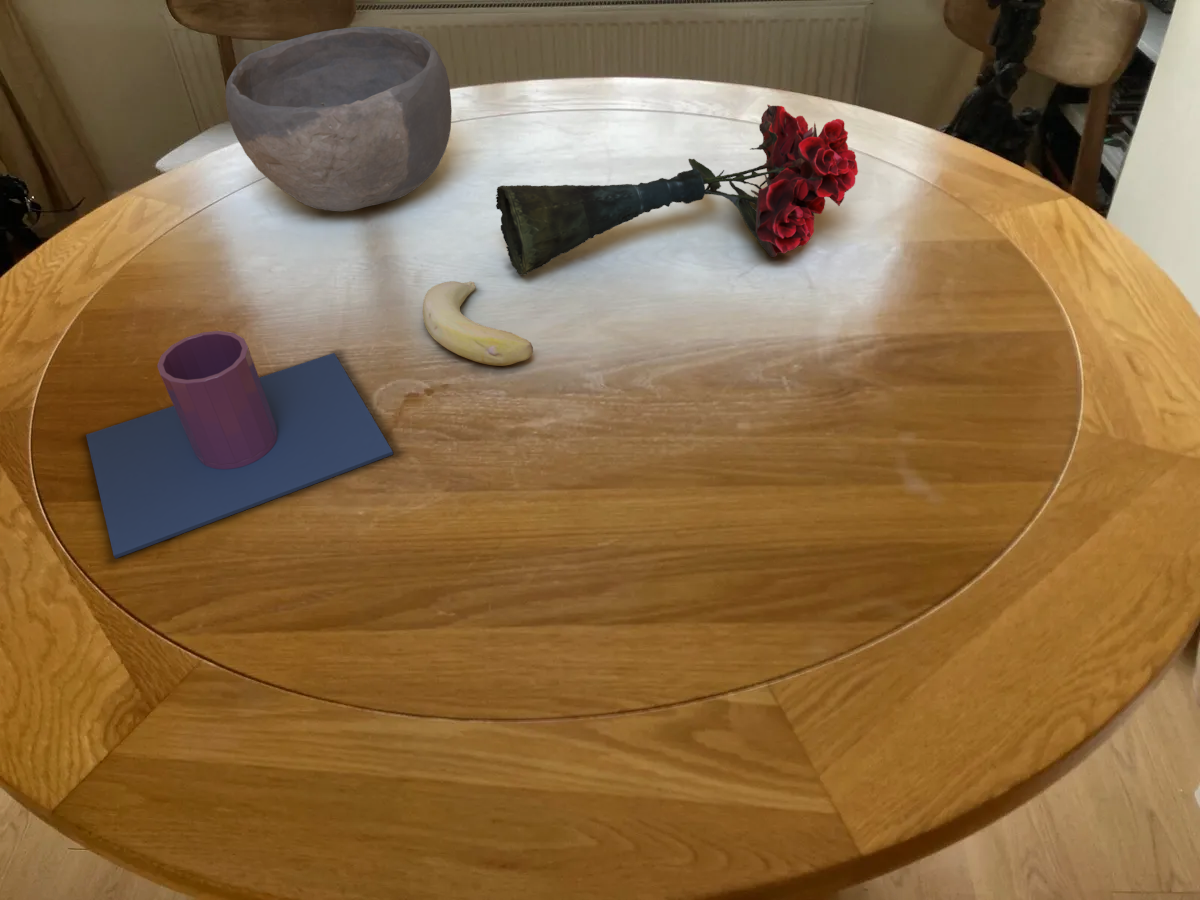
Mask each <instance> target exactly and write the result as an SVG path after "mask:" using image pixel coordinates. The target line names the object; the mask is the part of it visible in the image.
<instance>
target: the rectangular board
mask: <svg viewBox="0 0 1200 900" xmlns="http://www.w3.org/2000/svg"><path fill="white" fill-rule="evenodd" d="M259 379H260V382H261V385H262V388H263V390H264V393H265V396H266V399H267V402H268V405H269V407H270V410H271V413H272V416H273V419H274V421H275V424H276V428H277V432H278V436H277V440H276V443H275V445H274V446H273V448H272V449H271V450H270V451H269V452H268V453H267V454H266V455H265V456H263V457H262V458H260V459H259V460H257V461H255V462H253V463H251V464H249V465H246V466H243V467H239V468H234V469H214V468H210V467H208V466H206V465H204V464H203V463H201V462H200V461H199V460H198V458H197V456H196V455H195V452H194V450H193V448H192V446H191V443H190V441H189V439H188V436H187V434H186V432H185V430H184V427H183V425H182V423H181V421H180V418H179V416H178V414H177V412H176V409H175V407H174V405H172V406H169V407H165V408H163V409H160V410H157V411H153V412H150V413H148V414H144V415H142V416H139V417H136V418H133V419H130V420H126V421H124V422H120V423H118V424H114V425H111V426H107V427H106V428H102V429H99V430H96V431H93V432H90V433H87V434H85V437H86V441H87V446H88V449H89V454H90V458H91V463H92V467H93V472H94V476H95V480H96V485H97V489H98V490H97V491H98V494H99V497H100V502H101V507H102V511H103V515H104V520H105V524H106V529H107V532H108V537H109V541H110V546H111V550H112V555H113V557H114V559H118V558H121V557H124V556H127V555H130V554H132V553H135V552H138V551H140V550H143V549H146V548H148V547H150V546H153V545H156V544H159V543H162V542H164V541H167V540H169V539H173V538H175V537H178V536H180V535H184V534H185V533H188V532H191V531H194V530H197V529H199V528H201V527H204V526H206V525H210V524H213V523H215V522H217V521H220V520H222V519H225V518H228V517H231V516H233V515H236V514H238V513H242V512H244V511H247V510H249V509H250V510H251V509H252V508H255V507H257V506H260V505H263V504H266V503H268V502H272V501H273V500H276V499H278V498H279V499H280V498H282V497H284V496H287V495H290V494H292V493H294V492H297V491H300V490H303V489H305V488H308V487H311V486H313V485H316V484H318V483H319V484H320V483H321V482H324V481H327V480H329V479H331V478H334V477H337V476H340V475H343V474H346V473H348V472H352V471H353V470H354V471H355V470H356V469H358V468H359V469H360V468H362V467H364V466H367V465H369V464H372V463H375V462H378V461H380V460H382V459H386V458H388V457H390V456H394V450H393V449H392V448H391V446H390V444H389V442H388V441H387V439H386V437H385V436H384V435H383V434H384V433H382V431H381V429H380V427H379V426H378V424H377V422H376V420H375V419H374V418H373V416H372V414H371V412H370V410H369V408H368V407H367V404H366V403H365V402H364V401H363V399H362V397H361V395H360V393H359V392H358V390H357V389H356V387H355V385H354V383H353V382H352V380H351V379H350V376H349V375H348V374H347V371H346V370H345V368H344V366H343V365H342V363H341V362H340V360H339V358H338V357H337V355H336V353H335V352H332V353H329V354H326V355H323V356H320V357H317V358H314V359H311V360H309V361H305V362H302V363H299V364H296V365H293V366H289V367H286V368H284V369H281V370H278V371H275V372H272V373H268V374H266V375H263V376H259Z"/></svg>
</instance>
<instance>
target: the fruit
mask: <svg viewBox="0 0 1200 900" xmlns="http://www.w3.org/2000/svg"><path fill="white" fill-rule="evenodd" d="M476 289H477V286H476V283H475V282H474V281H467V282H461V281H454V280H451V281H450V280H449V281H444V282H441V283H438V284H435V285H433V286H431V287H430V288H429V289H428V290H427V291H426V293H425V295H424V297H423V303H422V318H423V324H424V326H425V328H426V330H427V332H428V333H429V335H430V336H431V338H432V339H433V340H435V341H436V342H437V343H438V344H439V345H440V346H442V347H443V348H445V349H447V350H448V351H450V352H452V353H454V354H455V355H458V356H459V357H462V358H464V359H468V360H470V361H473V362H476V363H480V364H483V365H490V366H503V367H505V366H510V365H513V364H516V363H519V362H524V361H527V360H528V359H530V357H531V356H532V354H533V352H534V347H533V344H532V342H531V341H530V340H528V339H526V338H523V337H522V336H519V335H517V334H515V333H513V332H511V331H506V330H503V329H499V328H498V329H497V328H493V327H489V326H486V325H483V324H481V323H478V322H476V321H473V320H471V319H469V318H468V317H467V316H465V315H464V314H462V312H461V306H462V305H463V303H464V302H465V300H466V299H467V297H468V296H470V294H471V293H472V292H474V291H475V290H476Z"/></svg>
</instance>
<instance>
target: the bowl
mask: <svg viewBox="0 0 1200 900" xmlns="http://www.w3.org/2000/svg"><path fill="white" fill-rule="evenodd" d="M224 93H225V104H226V112H227V116H228V117H227V118H228V120H229V122H230V125H231V128H232V130H233V133H234V135H235V137H236V139H237V142H238V143H239V144H240V146H241V148H242V150H243V151H244V153H245V155H246V156H247V157H248V159H249V160H250V162H251V163H253V165H254V167H255V168H256V169H257V170H258V171H259V172H260V173H261V174H263V175H264V177H266V179H268V180H269V181H271V182H272V183H273V184H274V186H276V187H277V188H278V189H280V190H281V191H283V192H285V193H286V194H288V195H289V196H291V197H292V198H295V200H296V201H298V202H300V203H302V204H303V205H305V206H308V207H311V208H313V209H317V210H324V211H331V212H332V211H333V212H350V211H355V210H360V209H364V208H367V207H371V206H377V205H381V204H385V203H388V202H389V203H390V202H393V201H396V200H398V199H400V198H402V197H404V196H406V195H408V194H410V193H412V192H413V191H415V190H416V189H417V188H419V187H420V186H421V185H422V184H423V183H425V181H427V179H429V177H430V176H431V175H432V174H433V173H434V172H435V171H436V169H437V168H438V167H439V165H440V163H441V162H442V159H443V156H444V155H445V152H446V150H447V146H448V144H449V139H450V137H451V130H452V129H451V128H452V113H453V112H452V109H453V108H452V97H451V85H450V79H449V76H448V72H447V68H446V66H445V64H444V61H443V60H442V58H441V56H440V53H439V52H438V51H437V49H436V48H435V47H434V46H433V45H432V43H431V42H430V41H429V40H428V39H427V38H425V36H422V35H421V34H419V33H415V32H413V31H410V30H407V29H403V28H402V29H401V28H395V27H394V28H393V27H385V26H383V27H382V26H354V27H345V28H344V27H343V28H336V29H330V30H324V31H319V32H314V33H309V34H305V35H302V36H297V37H294V38H290V39H287V40H283V41H281V42H278V43H275V44H272V45H270V46H268V47H266V48H263V49H260V50H257V51H254V52H251V53H249V54H248V55H246V56H245V57H244V58H242V59H241V60H240V61H239V62H238V64H237V65H236V66H235V67H234V68H233V70H232V72H231V73H230V75H229V77H228V79H227V81H226V87H225V92H224Z"/></svg>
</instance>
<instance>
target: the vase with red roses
mask: <svg viewBox="0 0 1200 900" xmlns="http://www.w3.org/2000/svg"><path fill="white" fill-rule="evenodd" d="M766 107H767V108H766V109H765V110H764V112H763V113H762V116H761V118H760V119H761V123H760V124H759V126H758V127H759V131H760V133H761V134H762V143H761V144H759V145H758V147H751V148H749V150H752V151H753V150H759V151H761V150H762V151H763V153H764V154H765V156H766V160H765V163H764V164H762V165H759V166H756V167H754V168H750V169H747V170H743V171H739V172H734V173H730V174H729V173H728V174H724V172H725V169H723V170H722V171H721V172H720V173H719V174H718V175H717V176H716V175H715V174H714V172H713V170H712V169H710V168H709V167H707V166H705V164H703V163H701V162H699V161H697V159H695V158H688V163H689V165H690V167H691V169H690V170H684V171H681V172H678V173H677V174H676V175H674V176H673V177H670V178H664V177H660V178H659V179H656V180H652V181H649V182H639V183H638V184H632V183H624V184H623V183H622V184H609V185H608V184H604V185H600V184H597V185H594V184H591V185H582V184H581V185H580V184H578V185H574V184H570V185H569V184H561V185H531V184H530V185H529V184H522V185H520V184H519V185H518V184H517V185H500V186H497V187H496V194H495V200H496V204H495V208H496V210H499V211H500V212H501V217H500V222H501V223H500V224H501V225H500V232H501V233H502V237H503V240H504V243H505V244H506V247H505V249H507V250H506V251H507V256H508V257H509V261H510V263H511V267H513V268H514V269H515V270H516V273H517V274H518V275H519V276H520V275H521V276H527V275H528V273H530V272H533V271H534V270H537V269H539V268H542V267H543V266H545V265H547V264H548V263H549V262H551V261H552V260H554V259H555V258H557V257H559V256H561V255H562V254H563V255H564V254H565V253H566V254H567V253H569V252H570V251H571V250H574V249H576V248H577V247H579V246H581V245H583V244H585V243H586V242H587V241H588V240H590V239H593V238H595V236H598V235H602V234H604V233H605V232H606V231H609V230H611V229H613V228H614V227H618V226H619V225H622V224H623V223H628V222H630V221H632V220H633V219H634V218H638V217H639V216H640V215H643V214H645V213H650V212H651V211H652V210H657V209H661V208H663V207H664V206H665V207H668V208H669V207H670V206H671V204H673V203H684V204H686V205H688V204H691V203H693V202H696V201H701V200H703V199H704V197H705V195H713V196H719V197H720V196H721V197H724V198H725V199H727V200H729V201H730V202H731V203H732V204H733V205H734V206H735V207H736V209H737V210H738V212H739V213H740V214H741V217H742V219H743V220H744V223H745V225H746V226H747V228H748V230H749V232H750V233H751V234H752V235H753V236H754V237H753V238H755V239H756V241H758V243H759V245H760V246H761V247H762V248H763V249H764V250H765V251H766V253H767V254H768V256H769V257H770V258H776V257H777V256H778V255H777V254H781V253H782V254H786V253H787V252H790V251H794V249H796V248H797V247H804V246H805V245H807V243H808V242H809V241H810V240H811V238H812V236H813V235H814V233H815V218H816V217H815V215H821V214H822V213H823V211H824V210H825V205H826V198H829V199H830V200H831V201H832V202H834V204H836V205H837V206H838V207H841V204H842V203H843V201H844V199H845V194H846V193H847V192H849V191H850V190H851V189H852V188H853V187H854V186H855V185H856V176H857V175H858V173H859V169H858V162H857V160H856V158H857V156H856V154H855V151H853V150H852V149H849V145H848V143H847V141H848V138H849V137H848V134H849V132H848V131H847V130H846V129H845V124H846V123H845V121H844V120H843V119H841V118H835V119H832V120H831V121H828V122H826V123H825V124H824V125H823V127H822V129H821V131H820V133H819V134H818V133H817V127H816V126H817V125H816V122H814V123H813V126H812V127H810V128H809V124H808V122H807V121H806V119H805V117H804V116H803V115H798V116H797V115H796V117H794V116H793V115H792V114H791V113H789V112H788V111H787V110H786V107H785V106H783V105H770V104H767V106H766ZM765 169H766V171H763V172H758V171H761V170H765ZM762 176H764V177H765V180H764V181H763V182H762V183H760V185H758V184H756V183H752V182H749V181H747V180H750V179H755V178H757V177H762ZM721 182H728V183H729V185H730V187H731V188H732V189H733V190H734V191H735V193H736V194H735V193H727V192H724V191H720V188H721V187H722V184H721ZM734 182H738V183H741V184H744V185H746V184H748V185H750V186H753V187H755V188H756V189H758V190H757V191H758V192H757V191H755V190H753V189H750V192H751V193H752V194H754V196H753V195H751V194H749V193H747V192H746V191H745V190H743V189H742V188H739V187H738V186H736V185H735V183H734ZM765 184H766V186H765V187H763V186H764V185H765ZM705 185H707V186H706V187H705ZM762 187H763V188H762ZM750 203H752V204H753V205H756V209H755V208H754V207H753V205H751V204H750Z"/></svg>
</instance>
